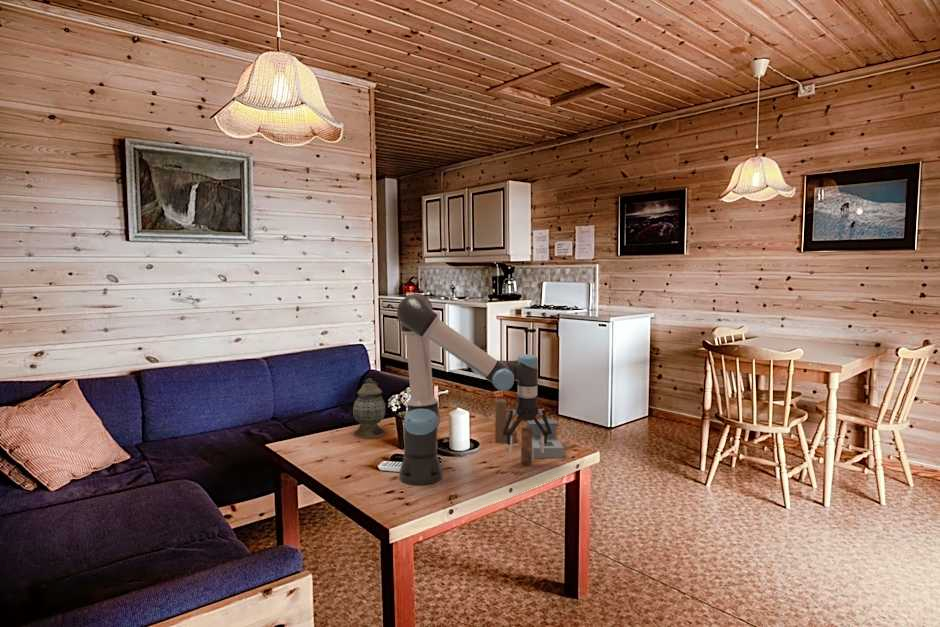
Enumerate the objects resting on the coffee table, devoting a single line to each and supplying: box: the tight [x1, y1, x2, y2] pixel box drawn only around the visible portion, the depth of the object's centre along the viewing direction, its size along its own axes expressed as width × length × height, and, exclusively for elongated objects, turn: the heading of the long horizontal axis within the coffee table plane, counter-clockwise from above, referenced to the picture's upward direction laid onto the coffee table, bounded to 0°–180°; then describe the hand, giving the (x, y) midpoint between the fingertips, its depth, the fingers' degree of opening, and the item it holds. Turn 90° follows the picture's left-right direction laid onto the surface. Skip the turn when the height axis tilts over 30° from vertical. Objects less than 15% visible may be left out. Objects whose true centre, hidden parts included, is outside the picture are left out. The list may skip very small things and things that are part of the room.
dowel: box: [520, 426, 533, 467], centre depth 217 cm, size 4×4×14 cm
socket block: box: [526, 418, 565, 459], centre depth 231 cm, size 12×16×11 cm
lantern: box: [352, 377, 386, 440], centre depth 253 cm, size 14×14×25 cm
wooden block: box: [494, 398, 518, 444], centre depth 243 cm, size 9×4×18 cm, turn 89°
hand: (526, 452), depth 217 cm, fingers open, 11 cm apart
